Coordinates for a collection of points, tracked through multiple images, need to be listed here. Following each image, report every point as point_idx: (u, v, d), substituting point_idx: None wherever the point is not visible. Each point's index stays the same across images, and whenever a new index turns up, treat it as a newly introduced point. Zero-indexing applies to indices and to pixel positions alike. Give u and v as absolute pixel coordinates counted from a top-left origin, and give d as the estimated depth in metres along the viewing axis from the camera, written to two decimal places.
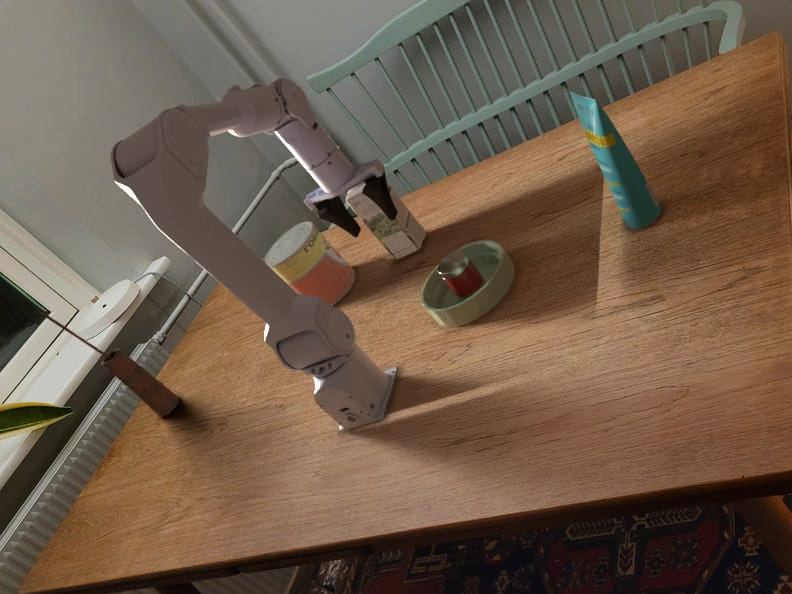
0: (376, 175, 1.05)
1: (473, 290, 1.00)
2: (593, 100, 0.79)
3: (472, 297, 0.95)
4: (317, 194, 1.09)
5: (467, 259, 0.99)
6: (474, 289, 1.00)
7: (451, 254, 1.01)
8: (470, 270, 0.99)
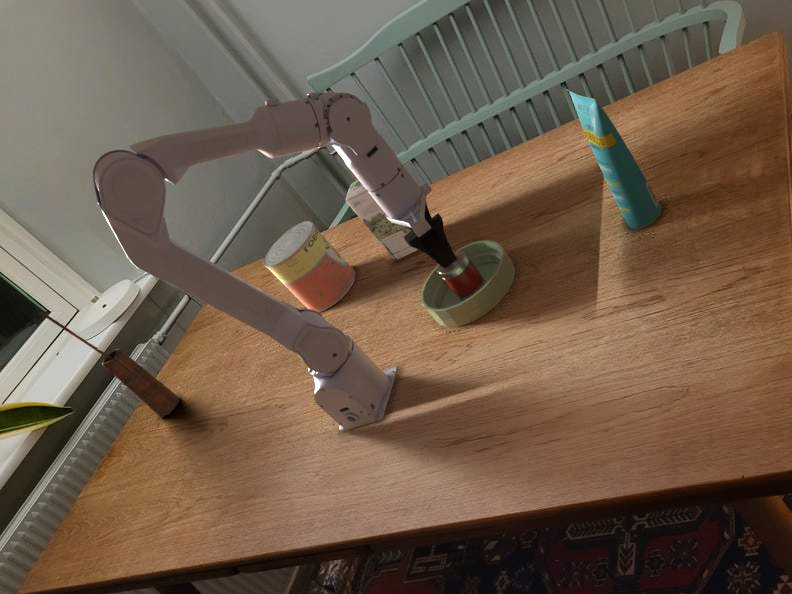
0: None
1: (473, 290, 1.00)
2: (593, 100, 0.79)
3: (472, 297, 0.95)
4: None
5: (467, 259, 0.99)
6: (474, 289, 1.00)
7: None
8: (470, 270, 0.99)
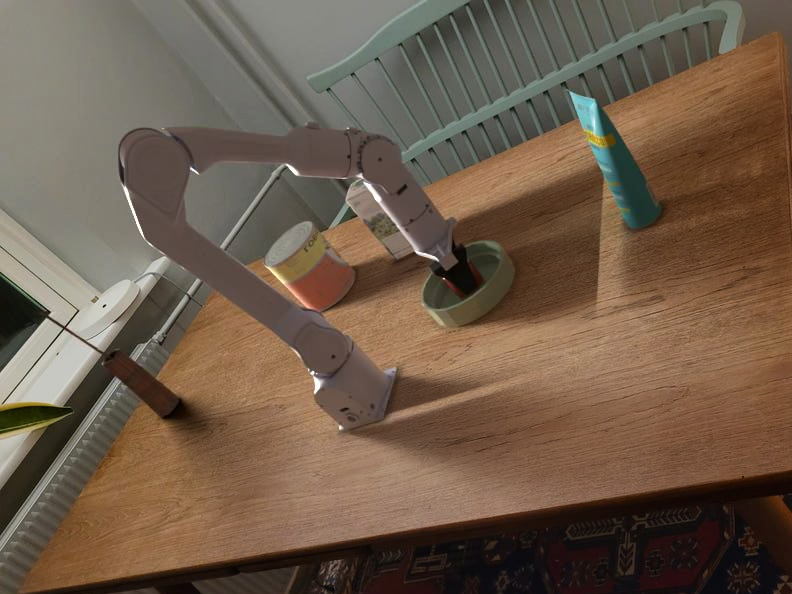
0: None
1: (473, 290, 1.00)
2: (593, 100, 0.79)
3: (472, 297, 0.95)
4: None
5: (467, 259, 0.99)
6: None
7: None
8: None
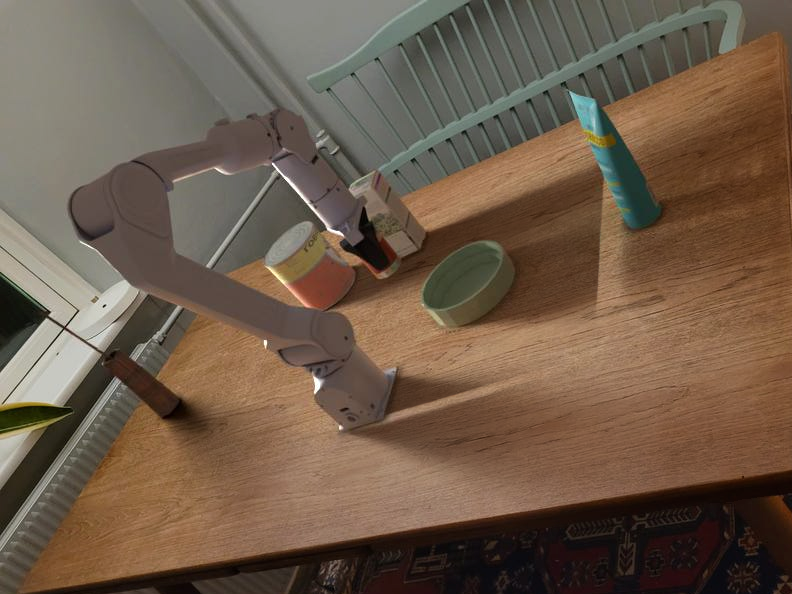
0: None
1: (386, 267, 1.04)
2: (593, 100, 0.79)
3: (472, 297, 0.95)
4: None
5: (379, 236, 1.02)
6: (387, 266, 1.04)
7: None
8: (382, 247, 1.02)
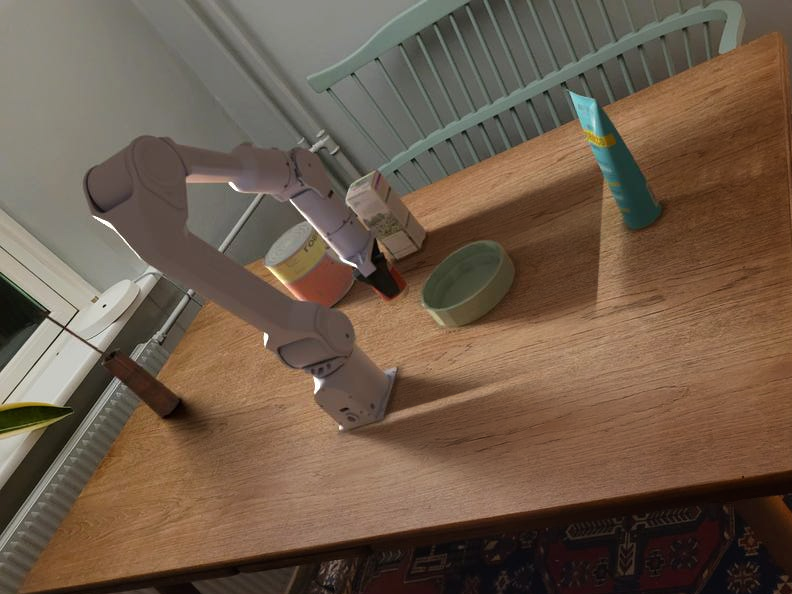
0: None
1: None
2: (593, 100, 0.79)
3: (472, 297, 0.95)
4: None
5: (390, 266, 1.07)
6: (397, 294, 1.09)
7: None
8: (393, 276, 1.07)
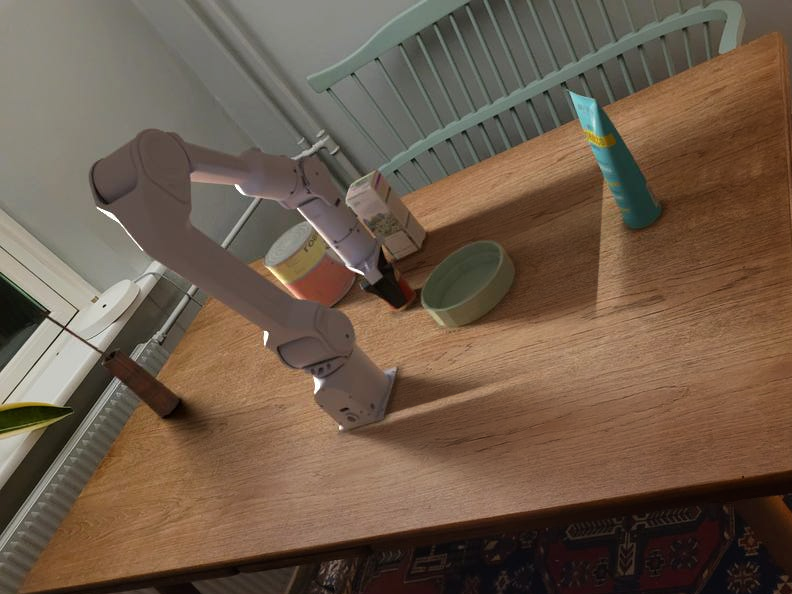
0: None
1: None
2: (593, 100, 0.79)
3: (472, 297, 0.95)
4: None
5: (398, 275, 1.08)
6: None
7: None
8: (401, 285, 1.09)
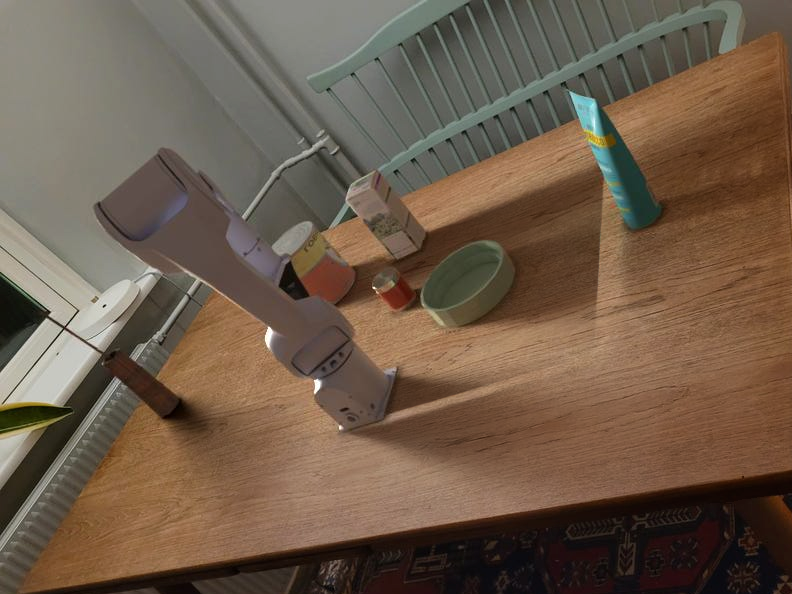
0: None
1: (404, 303, 1.10)
2: (593, 100, 0.79)
3: (472, 297, 0.95)
4: None
5: (398, 275, 1.08)
6: (405, 302, 1.10)
7: (385, 270, 1.10)
8: (401, 285, 1.09)
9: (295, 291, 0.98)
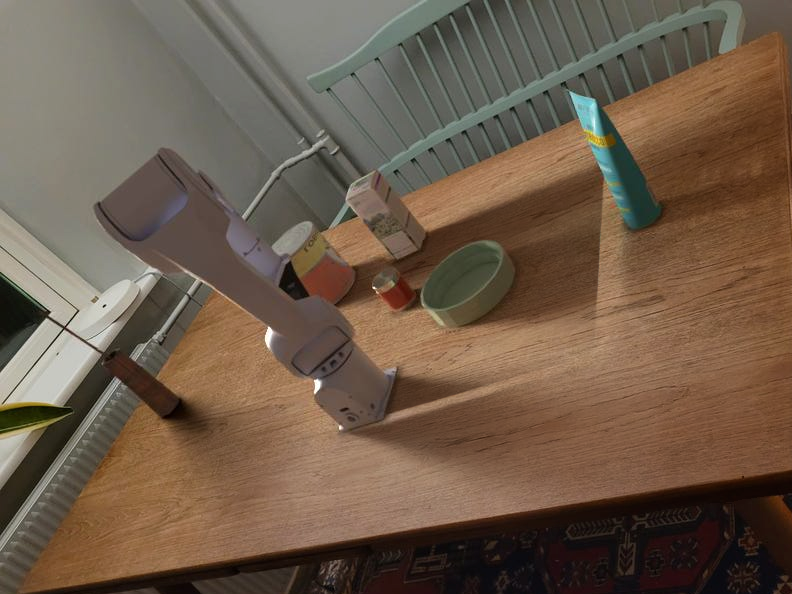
0: None
1: (404, 303, 1.10)
2: (593, 100, 0.79)
3: (472, 297, 0.95)
4: None
5: (398, 275, 1.08)
6: (405, 302, 1.10)
7: (385, 270, 1.10)
8: (401, 285, 1.09)
9: (295, 291, 0.98)
